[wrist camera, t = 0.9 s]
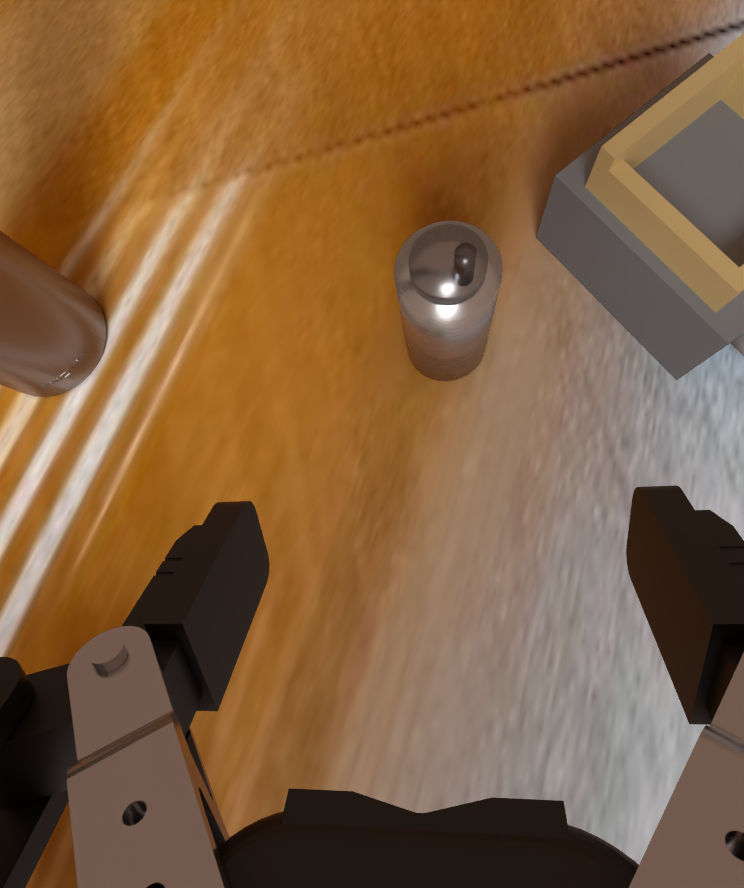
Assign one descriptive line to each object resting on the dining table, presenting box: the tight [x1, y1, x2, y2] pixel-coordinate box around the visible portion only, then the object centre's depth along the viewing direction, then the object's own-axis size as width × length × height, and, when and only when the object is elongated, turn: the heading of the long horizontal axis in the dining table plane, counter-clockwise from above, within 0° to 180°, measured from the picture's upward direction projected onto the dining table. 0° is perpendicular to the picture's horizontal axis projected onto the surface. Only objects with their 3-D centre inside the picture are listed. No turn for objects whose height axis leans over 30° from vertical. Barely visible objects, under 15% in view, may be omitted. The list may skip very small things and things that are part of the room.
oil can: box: [394, 221, 502, 381], centre depth 33 cm, size 6×6×14 cm
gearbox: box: [536, 34, 744, 380], centre depth 34 cm, size 17×12×10 cm
